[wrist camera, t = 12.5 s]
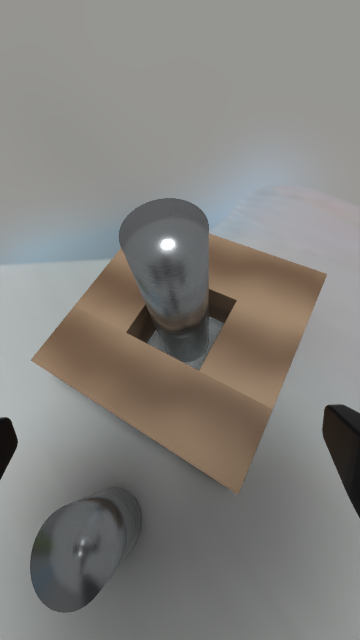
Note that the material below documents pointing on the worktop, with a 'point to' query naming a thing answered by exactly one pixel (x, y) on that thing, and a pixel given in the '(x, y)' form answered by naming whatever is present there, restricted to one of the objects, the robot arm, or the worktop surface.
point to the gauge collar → (179, 378)
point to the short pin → (83, 547)
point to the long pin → (171, 271)
